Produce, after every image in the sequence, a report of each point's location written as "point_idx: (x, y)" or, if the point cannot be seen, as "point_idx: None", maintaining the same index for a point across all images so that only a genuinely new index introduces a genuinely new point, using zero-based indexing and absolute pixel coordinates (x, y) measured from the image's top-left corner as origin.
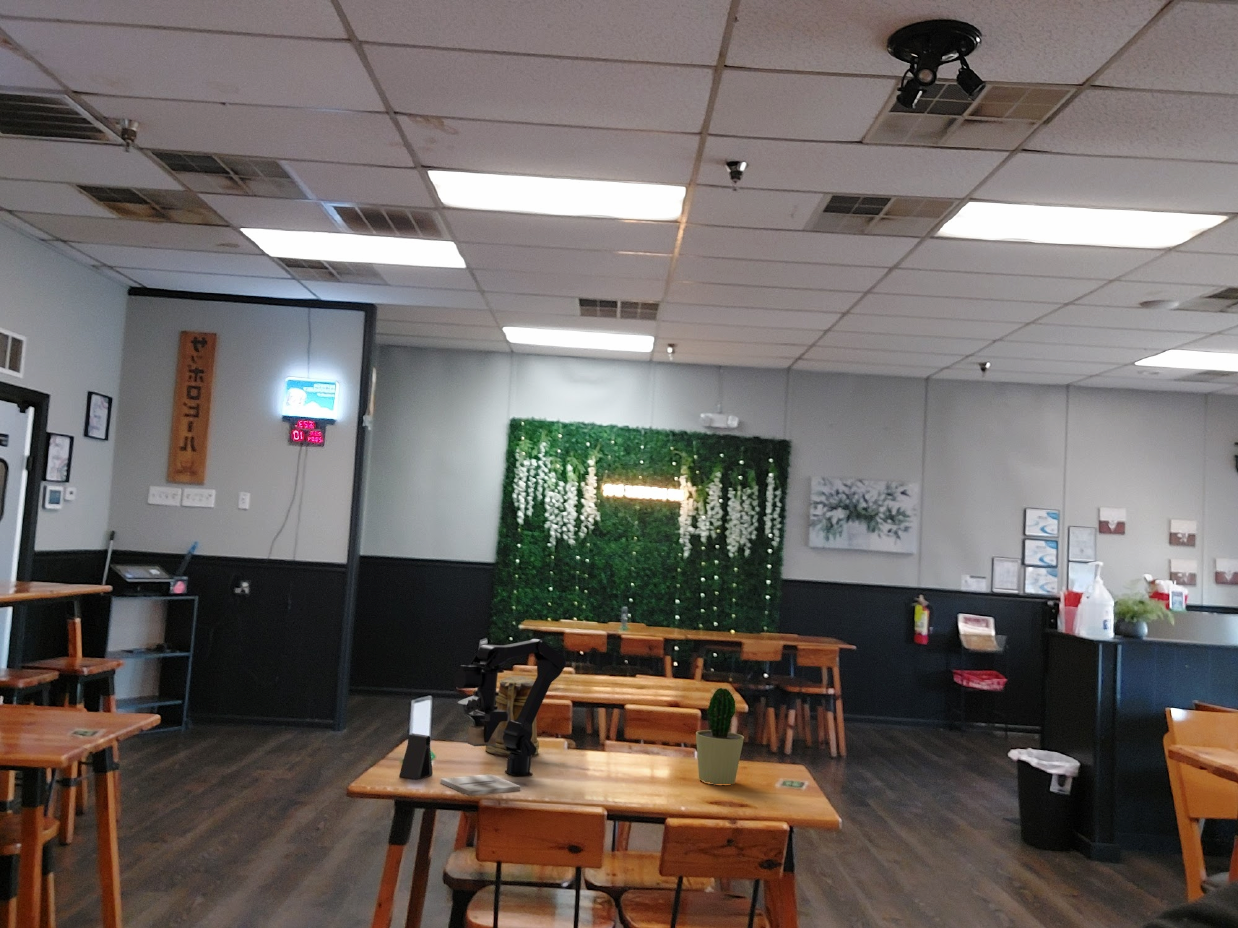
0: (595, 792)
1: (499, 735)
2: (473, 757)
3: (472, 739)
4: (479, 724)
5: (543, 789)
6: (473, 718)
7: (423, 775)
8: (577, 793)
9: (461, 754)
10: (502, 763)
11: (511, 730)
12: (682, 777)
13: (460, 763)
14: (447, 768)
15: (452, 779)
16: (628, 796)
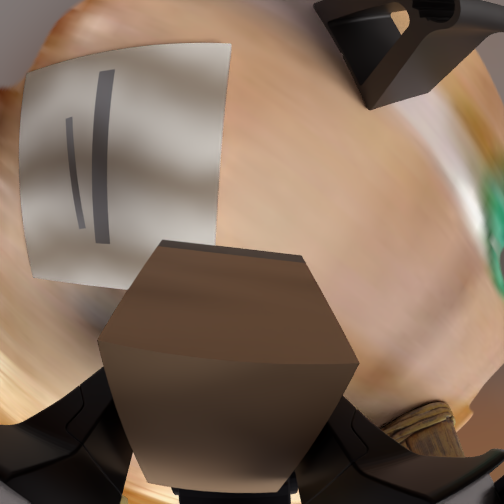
0: (33, 390)
1: (426, 443)
2: (437, 365)
3: (213, 268)
4: (318, 464)
5: (47, 332)
6: (383, 491)
7: (358, 60)
8: (22, 362)
9: (466, 351)
10: (355, 401)
11: (236, 502)
12: (131, 493)
13: (428, 309)
14: (414, 233)
15: (192, 80)
16: (17, 402)
